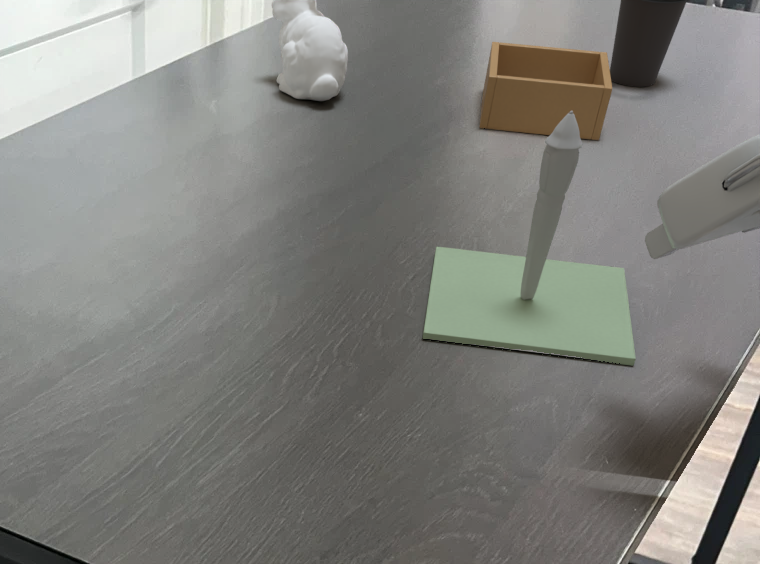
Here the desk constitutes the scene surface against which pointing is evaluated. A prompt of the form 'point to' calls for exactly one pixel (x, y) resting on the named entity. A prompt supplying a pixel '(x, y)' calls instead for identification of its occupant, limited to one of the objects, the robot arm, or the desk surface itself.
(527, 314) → the mat
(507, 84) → the storage box
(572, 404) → the desk surface
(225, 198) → the desk surface
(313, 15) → the rabbit
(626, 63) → the coffee cup
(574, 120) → the pen
